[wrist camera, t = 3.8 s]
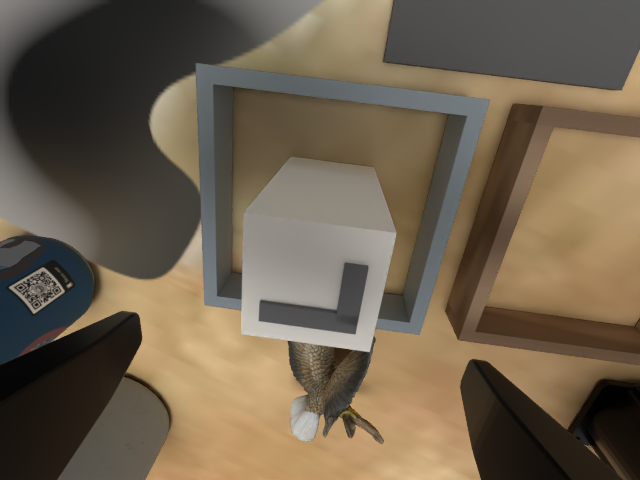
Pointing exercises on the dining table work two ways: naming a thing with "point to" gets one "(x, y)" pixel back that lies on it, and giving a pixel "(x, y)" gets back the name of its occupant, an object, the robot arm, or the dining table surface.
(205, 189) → the frame
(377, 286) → the letter block
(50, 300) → the soda can
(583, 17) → the dark grey flat slab
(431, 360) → the dining table surface
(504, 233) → the frame
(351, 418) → the eagle figurine
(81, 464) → the water bottle
